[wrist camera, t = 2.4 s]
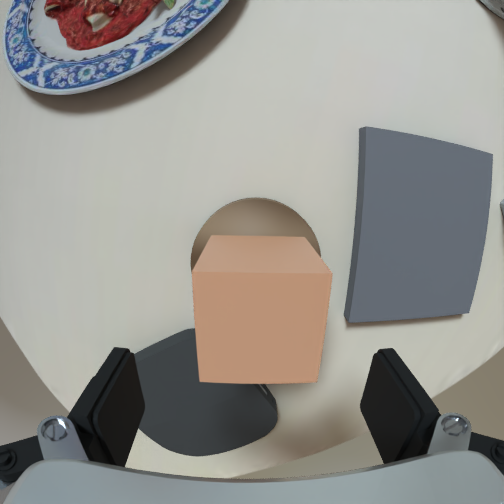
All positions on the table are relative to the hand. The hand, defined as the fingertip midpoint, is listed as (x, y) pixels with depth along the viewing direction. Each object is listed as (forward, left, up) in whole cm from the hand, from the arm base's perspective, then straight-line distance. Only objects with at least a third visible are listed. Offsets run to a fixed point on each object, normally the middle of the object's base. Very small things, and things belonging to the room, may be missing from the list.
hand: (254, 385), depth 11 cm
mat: (-3, +15, -15) cm, 21 cm away
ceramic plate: (-27, -14, -15) cm, 34 cm away
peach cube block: (0, 0, -10) cm, 10 cm away
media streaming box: (+15, -6, -15) cm, 22 cm away
